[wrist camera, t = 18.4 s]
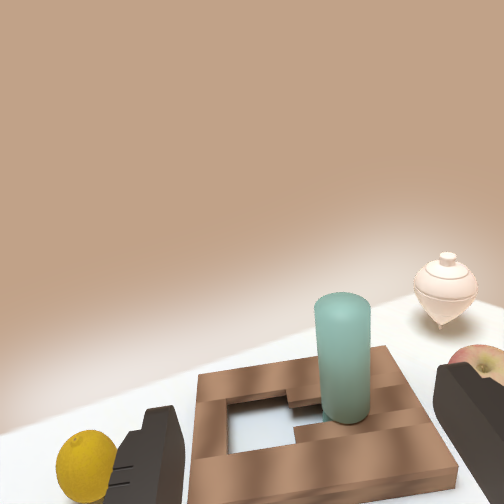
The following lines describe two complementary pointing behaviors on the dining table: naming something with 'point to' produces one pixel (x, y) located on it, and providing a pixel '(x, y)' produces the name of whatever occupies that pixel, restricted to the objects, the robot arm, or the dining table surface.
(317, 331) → the headed peg
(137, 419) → the dining table surface
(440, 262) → the spinning top
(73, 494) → the lemon
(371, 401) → the keyhole plate
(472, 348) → the apple
